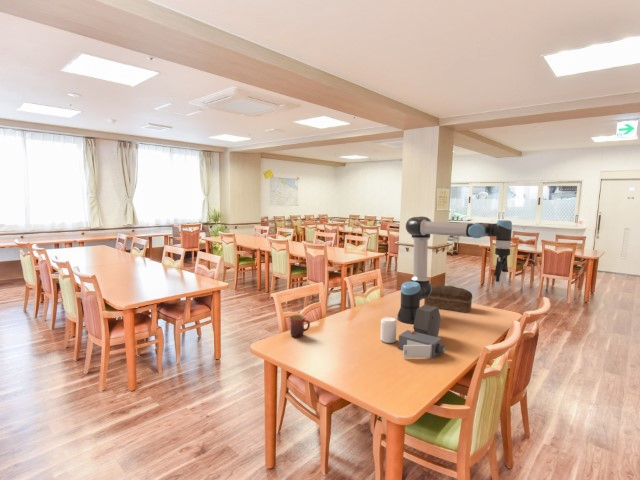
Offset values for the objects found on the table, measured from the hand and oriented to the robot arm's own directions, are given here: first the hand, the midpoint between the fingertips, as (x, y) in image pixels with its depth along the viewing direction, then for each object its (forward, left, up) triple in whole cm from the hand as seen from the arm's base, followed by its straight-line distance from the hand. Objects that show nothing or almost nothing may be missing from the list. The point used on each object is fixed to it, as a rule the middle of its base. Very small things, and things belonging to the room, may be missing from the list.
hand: (500, 285), depth 203 cm
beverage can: (-42, -52, -28) cm, 73 cm away
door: (-21, -63, -27) cm, 72 cm away
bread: (-39, +31, -28) cm, 57 cm away
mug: (-83, -77, -28) cm, 117 cm away
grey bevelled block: (-27, -36, -28) cm, 53 cm away
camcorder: (-23, -53, -28) cm, 64 cm away
